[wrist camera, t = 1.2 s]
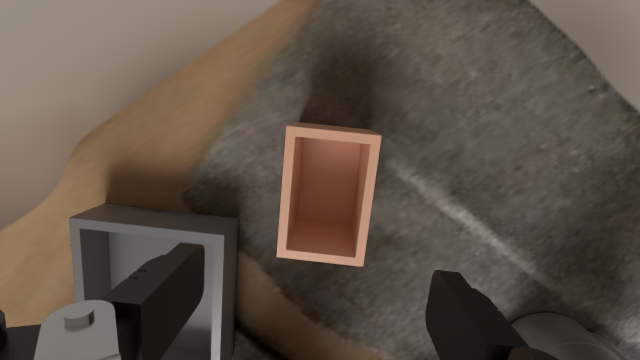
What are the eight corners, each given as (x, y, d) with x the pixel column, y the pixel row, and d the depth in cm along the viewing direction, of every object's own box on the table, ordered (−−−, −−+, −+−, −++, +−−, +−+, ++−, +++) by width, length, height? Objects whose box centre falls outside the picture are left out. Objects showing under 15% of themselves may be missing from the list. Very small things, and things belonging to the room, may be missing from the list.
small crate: (369, 129, 26) (381, 135, 20) (356, 229, 28) (363, 266, 22) (298, 122, 27) (286, 125, 20) (290, 222, 29) (276, 256, 22)
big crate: (239, 218, 29) (224, 235, 25) (233, 354, 32) (218, 388, 28) (104, 203, 29) (69, 217, 25) (111, 339, 32) (80, 371, 28)
